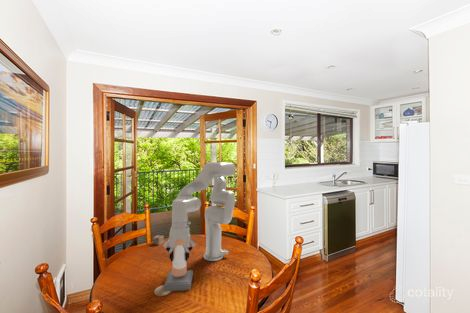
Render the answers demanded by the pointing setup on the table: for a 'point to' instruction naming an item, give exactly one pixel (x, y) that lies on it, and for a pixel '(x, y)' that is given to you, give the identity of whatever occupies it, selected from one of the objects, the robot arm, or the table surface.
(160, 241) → the grey cube
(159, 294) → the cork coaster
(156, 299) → the table surface
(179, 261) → the pepper shaker
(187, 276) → the slate stand
